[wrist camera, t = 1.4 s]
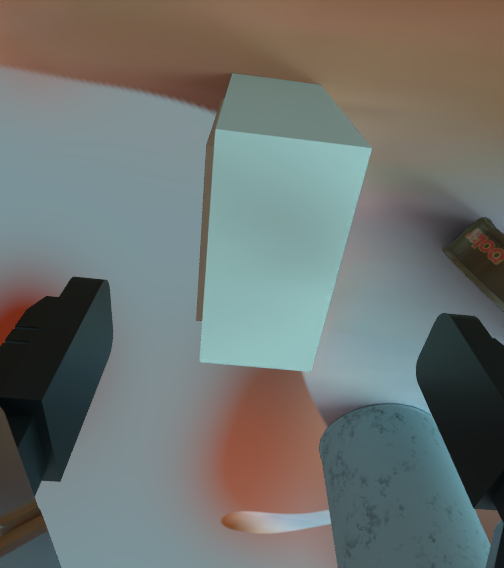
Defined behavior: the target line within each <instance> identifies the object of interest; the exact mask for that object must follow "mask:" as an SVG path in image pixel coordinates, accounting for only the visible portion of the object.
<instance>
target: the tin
mask: <svg viewBox="0 0 504 568" xmlns="http://www.w3.org/2000/svg"><path fill="white" fill-rule="evenodd" d="M442 250H443V252H444V253H445V254H446V255H447V256H448V258H449V259H450V260H451V261H452V262H453V263H454V264H455V265H456V266H457V267H458V268H459V269H460V270H461V271H462V272H463V273H464V274H465V275H466V276H467V277H468V278H469V279H470V280H471V281H472V282H473V283H474V284H475V285H476V286H477V287H478V288H479V289H480V290H481V291H482V292H483V293H484V294H485V295H486V296H487V297H488V298H489V299H491V300H492V301H493V302H494V303H495V304H496V306H497V307H499V308H500V309H501V310H502V311H503V312H504V234H503V233H502V232H500V231H499V230H498V229H497V228H495V226H494V224H493V223H492V221H491V220H490V219H488V218H480V219H479V220H477V221H476V222H475V223H473V224H472V225H471V226H470V227H468V228H467V229H466V230H465V231H464V232H463V233H462V234H461V235H459V236H458V237H457V238H456V239H455V240H454V241H453V242H452V243H451V244H449V245H448V246H445V247H443V248H442Z"/></svg>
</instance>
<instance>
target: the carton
mask: <svg viewBox="0 0 504 568" xmlns="http://www.w3.org/2000/svg"><path fill="white" fill-rule="evenodd" d="M371 151H372V147H371V146H370V145H369V144H368V143H367V141H366V140H365V139H364V138H363V136H362V135H361V134H360V133H359V131H358V130H357V129H356V128H355V127H354V125H353V124H352V123H351V122H350V120H349V119H348V118H347V117H346V115H345V114H344V113H343V112H342V110H341V109H340V108H339V107H338V106H337V104H336V103H335V102H334V101H333V99H332V98H331V97H330V96H329V94H328V93H327V92H326V91H325V90H324V88H323V87H322V86H321V85H319V84H311V83H304V82H296V81H288V80H281V79H273V78H266V77H258V76H250V75H243V74H235V73H232V76H231V79H230V82H229V86H228V89H227V92H226V96H225V99H222V100H221V103H220V106H219V109H218V112H217V115H216V118H215V121H214V124H213V127H212V130H211V133H210V136H209V139H208V142H207V145H206V160H205V177H204V194H203V213H202V229H201V246H200V263H199V264H200V265H199V281H198V299H197V317H196V320H197V321H202V334H201V349H200V362H205V363H217V364H228V365H239V366H251V367H262V368H273V369H285V370H296V371H307V372H311V370H312V367H313V363H314V359H315V356H316V352H317V348H318V345H319V341H320V337H321V334H322V330H323V326H324V323H325V319H326V315H327V312H328V308H329V304H330V301H331V297H332V293H333V290H334V286H335V282H336V279H337V275H338V271H339V268H340V264H341V260H342V257H343V253H344V249H345V246H346V242H347V238H348V235H349V231H350V227H351V224H352V220H353V216H354V213H355V209H356V205H357V202H358V198H359V194H360V191H361V187H362V183H363V180H364V176H365V172H366V169H367V165H368V161H369V158H370V154H371Z"/></svg>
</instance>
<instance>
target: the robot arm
mask: <svg viewBox="0 0 504 568" xmlns="http://www.w3.org/2000/svg"><path fill="white" fill-rule="evenodd" d="M112 340H113V325H112V312H111V299H110V287H109V283H108V281H107V280H102V279H92V278H81V277H72V278H71V279H70V281H69V282H68V284H67V286H66V287H65V289H64V290H63V292H62V293H61V295H60V296H59V297H50V296H46V297H44V298H43V299H41V300H40V301H39V302H37V303H36V304H34V305H33V306H31V307H30V308H28V309H27V310H26V311H25V313H24V314H23V316H22V317H21V318H20V320H19V321H18V323H17V324H16V325H15V329H13V330H12V331H11V333H10V334H9V335H8V337H7V338H6V340H5V343H3V344H2V345H1V346H0V568H61V565H60V563H59V560H58V557H57V554H56V551H55V549H54V546H53V543H52V540H51V537H50V535H49V532H48V529H47V526H46V524H45V521H44V518H43V516H42V513H41V511H40V509H39V508H38V505H37V502H36V500H35V495H36V492H37V490H38V488H39V485H40V483H41V481H42V480H43V481H58V482H60V481H61V479H62V476H63V473H64V470H65V468H66V466H67V463H68V461H69V458H70V456H71V452H72V450H73V448H74V445H75V443H76V440H77V437H78V435H79V432H80V430H81V427H82V425H83V422H84V420H85V417H86V415H87V412H88V409H89V407H90V404H91V402H92V399H93V397H94V394H95V391H96V389H97V386H98V384H99V381H100V379H101V376H102V374H103V371H104V368H105V366H106V363H107V361H108V358H109V355H110V352H111V347H112ZM416 377H417V382H418V384H419V387H420V389H421V391H422V393H423V396H424V398H425V400H426V402H427V405H428V407H429V409H430V411H431V414H432V416H433V418H434V421H435V423H436V425H437V427H438V430H439V432H440V434H441V436H442V439H443V441H444V443H445V445H446V448H447V450H448V452H449V454H450V457H451V459H452V461H453V463H454V466H455V468H456V470H457V473H458V475H459V477H460V479H461V482H462V484H463V486H464V488H465V491H466V493H467V495H468V497H469V500H470V502H471V504H472V506H473V509H486V510H497V511H498V513H499V515H500V517H501V521H500V522H499V523H498V524H497V526H496V527H495V530H494V534H493V538H492V543H491V546H490V551H489V555H488V559H487V563H486V567H485V568H504V346H503V345H502V344H501V343H500V342H499V341H497V340H496V339H495V338H492V337H491V336H490V334H489V333H488V331H487V330H486V329H485V327H484V326H483V325H482V323H481V322H480V320H479V319H478V318H477V317H475V316H468V315H457V314H447V313H443V314H441V315H439V316H438V317H437V319H436V321H435V323H434V325H433V327H432V329H431V331H430V334H429V336H428V338H427V340H426V342H425V344H424V346H423V349H422V351H421V353H420V355H419V357H418V360H417V364H416Z"/></svg>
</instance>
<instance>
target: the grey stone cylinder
mask: <svg viewBox="0 0 504 568" xmlns="http://www.w3.org/2000/svg"><path fill="white" fill-rule="evenodd" d="M319 452H320V457H321V459H322V464H323V471H324V477H325V484H326V491H327V498H328V504H329V511H330V518H331V525H332V531H333V538H334V545H335V551H336V558H337V565H338V568H485V567H486V563H487V559H488V555H489V551H490V543H489V541H488V539H487V536H486V534H485V532H484V530H483V527H482V525H481V523H480V520H479V518H478V516H477V514H476V511H475V509H473V506H472V504H471V502H470V500H469V497H468V495H467V493H466V491H465V488H464V486H463V484H462V482H461V479H460V477H459V475H458V473H457V470H456V468H455V466H454V463H453V461H452V459H451V457H450V454H449V452H448V450H447V448H446V445H445V443H444V441H443V439H442V436H441V434H440V432H439V430H438V427H437V425H436V423H435V421H434V418H433V417H432V416H431V415H429V414H428V413H426V412H425V411H423V410H420V409H418V408H415V407H413V406H408V405H402V404H378V405H371V406H367V407H363V408H360V409H356V410H354V411H351V412H349V413H347V414H345V415H343V416H341V417H340V418H339V419H337V420H336V421H334V422H333V423H332V424H331V425H330V426H329V427H328V428H327V429H326V430H325V432H324V434H323V436H322V437H321V439H320V445H319Z"/></svg>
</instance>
